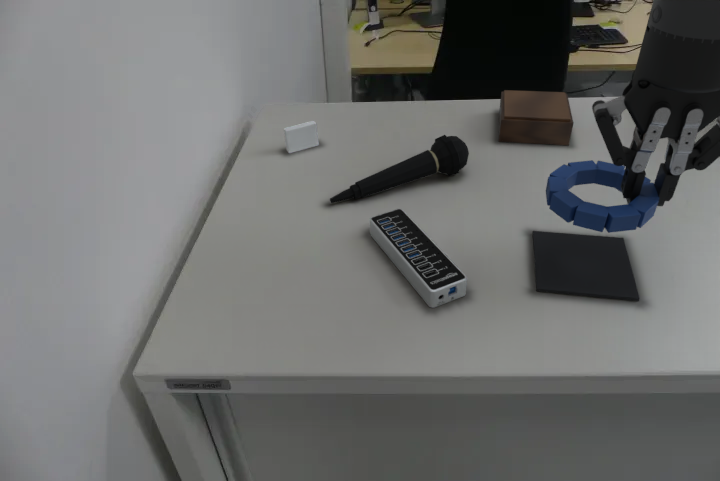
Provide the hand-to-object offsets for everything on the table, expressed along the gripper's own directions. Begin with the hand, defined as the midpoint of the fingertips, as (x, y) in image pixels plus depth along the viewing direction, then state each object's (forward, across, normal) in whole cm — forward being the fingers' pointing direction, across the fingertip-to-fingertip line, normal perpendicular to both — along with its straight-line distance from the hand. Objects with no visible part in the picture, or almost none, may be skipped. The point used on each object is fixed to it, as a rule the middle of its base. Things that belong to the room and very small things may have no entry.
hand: (642, 200), depth 55 cm
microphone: (+9, +26, -14) cm, 31 cm away
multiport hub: (+9, +22, +2) cm, 24 cm away
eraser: (+9, +42, -22) cm, 48 cm away
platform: (+9, +8, -32) cm, 34 cm away
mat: (+9, +4, 0) cm, 10 cm away
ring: (+1, +4, 0) cm, 4 cm away
